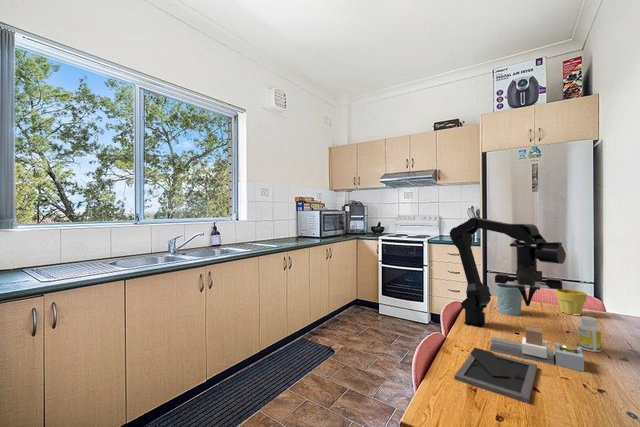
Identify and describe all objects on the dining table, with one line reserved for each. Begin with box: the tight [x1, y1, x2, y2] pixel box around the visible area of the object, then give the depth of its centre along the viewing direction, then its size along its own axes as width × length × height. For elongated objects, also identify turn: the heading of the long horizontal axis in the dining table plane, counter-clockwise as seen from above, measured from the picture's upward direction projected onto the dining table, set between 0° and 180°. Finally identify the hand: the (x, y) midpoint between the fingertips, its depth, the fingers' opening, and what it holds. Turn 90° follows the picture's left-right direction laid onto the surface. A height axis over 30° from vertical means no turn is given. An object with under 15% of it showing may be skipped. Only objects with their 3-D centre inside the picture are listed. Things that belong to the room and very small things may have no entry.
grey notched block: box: [554, 342, 585, 372], centre depth 86 cm, size 6×8×4 cm
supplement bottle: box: [577, 315, 602, 353], centre depth 95 cm, size 5×5×10 cm
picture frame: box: [454, 347, 538, 404], centre depth 80 cm, size 16×2×21 cm
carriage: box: [521, 326, 548, 358], centre depth 91 cm, size 6×6×7 cm
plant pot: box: [555, 288, 587, 315], centre depth 131 cm, size 10×10×10 cm
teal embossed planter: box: [495, 283, 523, 317], centre depth 133 cm, size 10×10×12 cm
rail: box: [489, 336, 555, 366], centre depth 93 cm, size 16×8×3 cm, turn 53°
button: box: [560, 342, 578, 353], centre depth 86 cm, size 4×4×4 cm
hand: (527, 305), depth 102 cm, fingers closed
